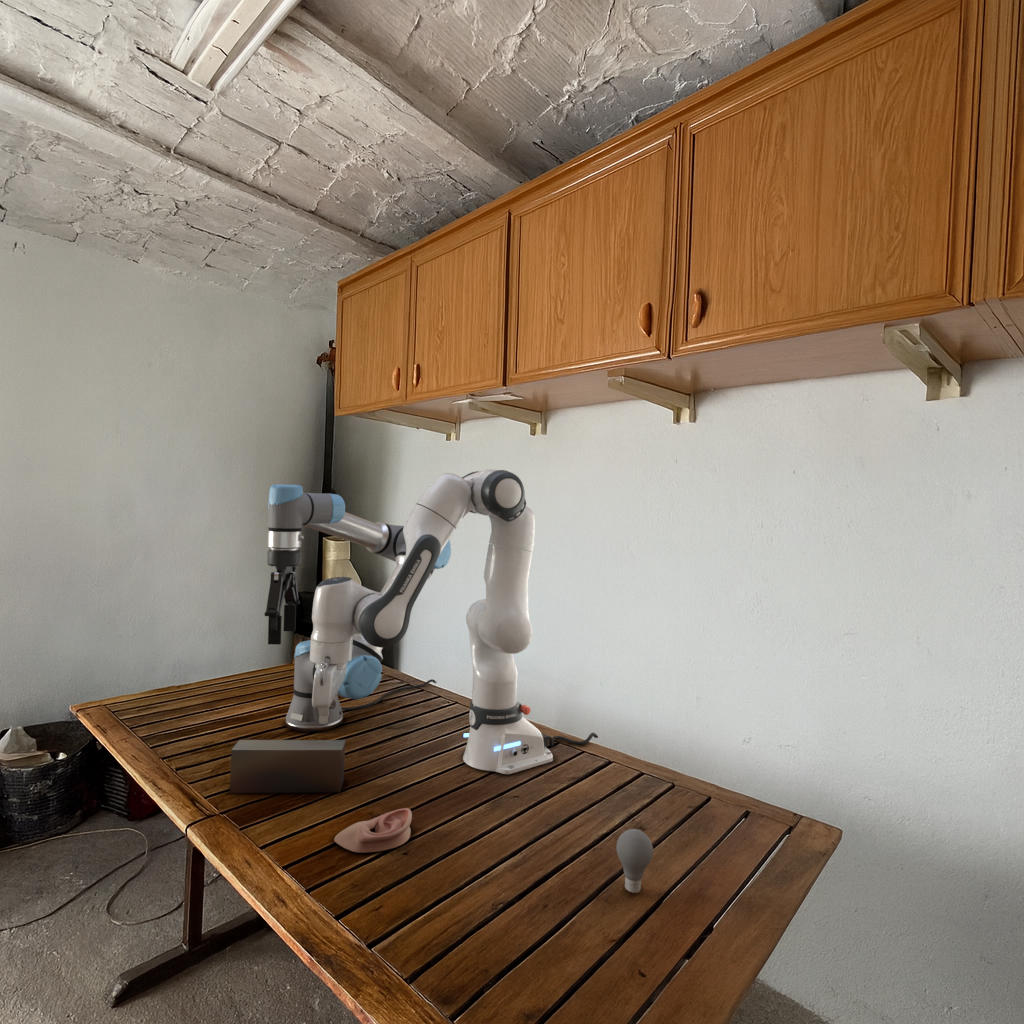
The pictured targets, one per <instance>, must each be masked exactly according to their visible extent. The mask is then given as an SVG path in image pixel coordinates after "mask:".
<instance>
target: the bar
mask: <svg viewBox="0 0 1024 1024" xmlns="http://www.w3.org/2000/svg"><path fill="white" fill-rule="evenodd" d="M230 752H231V753H230V775H229V776H230V777H229V794H294V793H295V794H304V793H305V794H307V793H309V794H312V793H313V794H316V793H317V794H319V793H321V794H322V793H325V794H327V793H331V794H332V793H334V794H335V793H336V794H337V793H341V791H342V788H343V785H344V782H345V761H346V760H345V758H346V739H239V740H238V741H237V742H236V743H235V745H234V746H233V747H232V748H231V751H230Z"/></svg>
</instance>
